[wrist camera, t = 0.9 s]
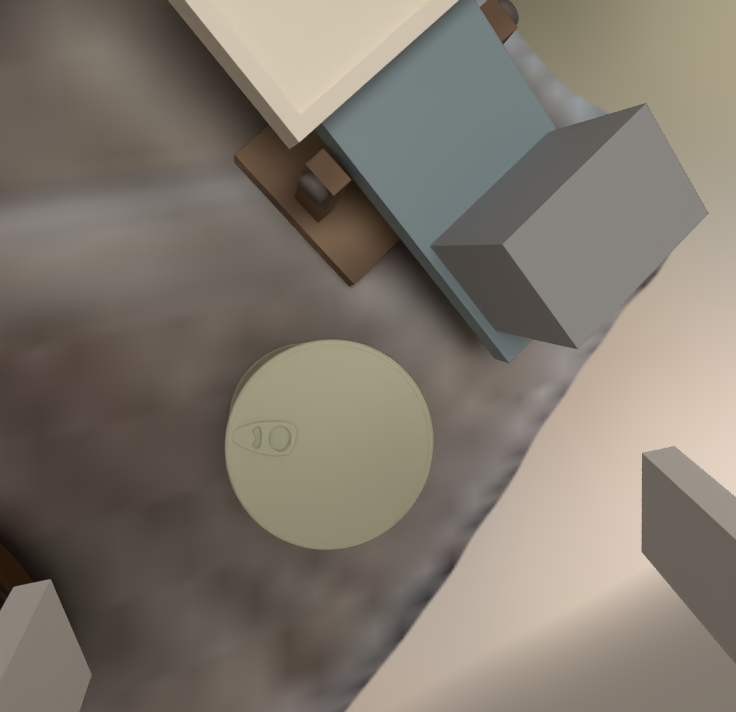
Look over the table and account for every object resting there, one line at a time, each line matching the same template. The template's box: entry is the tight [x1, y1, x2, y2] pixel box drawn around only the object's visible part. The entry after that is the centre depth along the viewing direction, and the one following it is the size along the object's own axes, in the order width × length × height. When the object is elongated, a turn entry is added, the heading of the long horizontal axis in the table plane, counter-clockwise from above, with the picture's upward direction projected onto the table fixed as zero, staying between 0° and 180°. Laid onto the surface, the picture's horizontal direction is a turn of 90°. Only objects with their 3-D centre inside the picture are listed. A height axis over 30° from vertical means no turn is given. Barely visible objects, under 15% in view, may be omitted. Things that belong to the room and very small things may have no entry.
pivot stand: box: [234, 0, 518, 286], centre depth 35 cm, size 10×15×8 cm, turn 134°
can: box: [224, 339, 434, 550], centre depth 33 cm, size 9×9×12 cm
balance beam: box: [168, 0, 709, 363], centre depth 28 cm, size 30×14×8 cm, turn 43°
